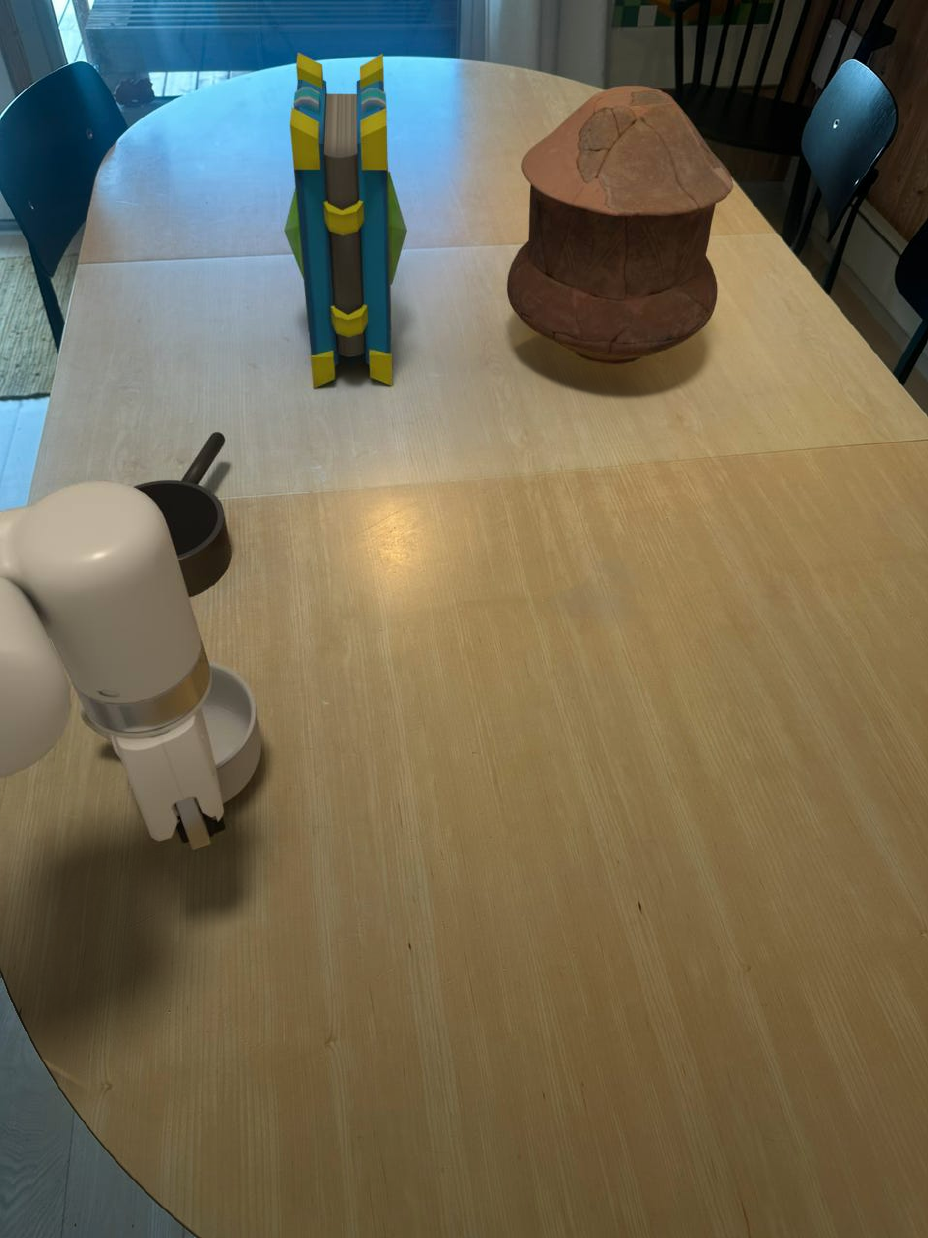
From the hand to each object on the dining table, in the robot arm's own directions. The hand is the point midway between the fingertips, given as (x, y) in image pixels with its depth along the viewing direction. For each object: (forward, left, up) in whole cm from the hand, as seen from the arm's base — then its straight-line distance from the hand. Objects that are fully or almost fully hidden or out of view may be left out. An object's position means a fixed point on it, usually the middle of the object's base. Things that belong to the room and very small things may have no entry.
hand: (202, 827), depth 71 cm
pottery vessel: (+21, +80, -4) cm, 82 cm away
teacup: (-5, +7, -4) cm, 10 cm away
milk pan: (-16, +34, -4) cm, 38 cm away
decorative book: (-10, +72, -4) cm, 72 cm away
